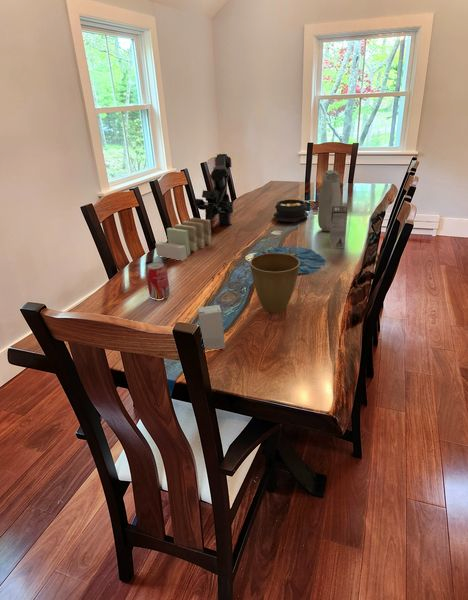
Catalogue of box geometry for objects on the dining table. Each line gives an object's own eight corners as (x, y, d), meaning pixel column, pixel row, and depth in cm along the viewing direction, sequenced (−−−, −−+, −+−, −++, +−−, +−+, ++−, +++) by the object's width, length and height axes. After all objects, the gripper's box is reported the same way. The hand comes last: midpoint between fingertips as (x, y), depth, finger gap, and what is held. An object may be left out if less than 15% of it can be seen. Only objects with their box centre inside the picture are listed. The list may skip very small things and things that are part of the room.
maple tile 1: (194, 240, 191) (192, 217, 186) (211, 243, 186) (209, 219, 181) (192, 241, 189) (189, 218, 184) (209, 244, 185) (207, 221, 179)
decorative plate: (330, 254, 171) (331, 242, 168) (320, 282, 145) (321, 269, 143) (263, 246, 179) (263, 235, 177) (242, 272, 154) (242, 259, 152)
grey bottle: (340, 233, 189) (345, 172, 176) (319, 234, 189) (322, 173, 176) (336, 226, 198) (340, 168, 185) (315, 227, 198) (318, 169, 185)
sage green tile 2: (187, 243, 187) (185, 220, 182) (205, 246, 182) (202, 223, 177) (185, 245, 185) (182, 222, 180) (202, 248, 180) (200, 224, 175)
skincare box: (223, 341, 112) (220, 303, 106) (225, 350, 108) (222, 311, 102) (201, 344, 111) (197, 306, 105) (203, 353, 107) (199, 314, 101)
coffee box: (329, 241, 180) (331, 205, 172) (344, 241, 179) (347, 205, 171) (329, 248, 172) (332, 211, 164) (345, 248, 171) (348, 211, 163)
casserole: (303, 226, 202) (304, 209, 198) (268, 224, 208) (267, 208, 204) (312, 212, 223) (312, 197, 219) (279, 211, 229) (279, 196, 225)
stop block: (161, 254, 176) (159, 241, 173) (186, 259, 169) (185, 245, 166) (157, 256, 174) (155, 243, 171) (182, 261, 167) (180, 248, 164)
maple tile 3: (180, 247, 183) (177, 224, 178) (197, 250, 178) (195, 226, 173) (177, 248, 181) (174, 225, 176) (195, 252, 176) (192, 228, 171)
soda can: (151, 293, 141) (145, 262, 136) (171, 292, 142) (166, 260, 136) (149, 302, 135) (143, 270, 130) (169, 301, 135) (165, 268, 130)
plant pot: (245, 316, 124) (243, 268, 116) (259, 295, 136) (258, 250, 129) (292, 322, 119) (293, 273, 111) (302, 300, 131) (304, 254, 124)
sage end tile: (172, 251, 179) (169, 227, 174) (190, 254, 174) (187, 230, 169) (169, 252, 177) (166, 228, 172) (187, 256, 172) (184, 231, 167)
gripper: (193, 181, 188) (181, 210, 185) (227, 184, 179) (215, 214, 176) (205, 194, 198) (193, 222, 195) (237, 197, 189) (225, 226, 186)
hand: (206, 221), depth 187 cm, fingers closed
